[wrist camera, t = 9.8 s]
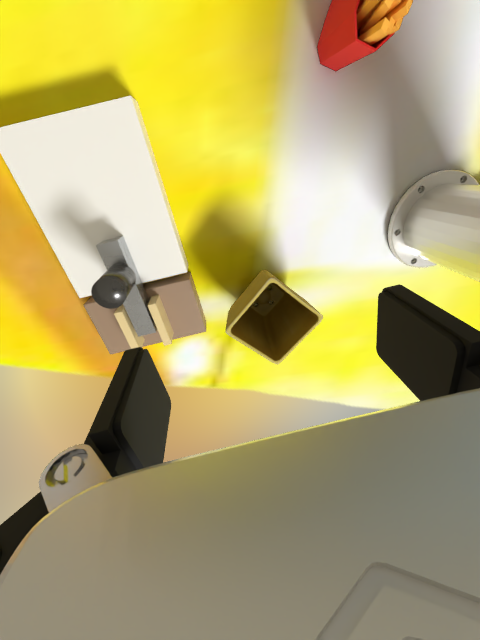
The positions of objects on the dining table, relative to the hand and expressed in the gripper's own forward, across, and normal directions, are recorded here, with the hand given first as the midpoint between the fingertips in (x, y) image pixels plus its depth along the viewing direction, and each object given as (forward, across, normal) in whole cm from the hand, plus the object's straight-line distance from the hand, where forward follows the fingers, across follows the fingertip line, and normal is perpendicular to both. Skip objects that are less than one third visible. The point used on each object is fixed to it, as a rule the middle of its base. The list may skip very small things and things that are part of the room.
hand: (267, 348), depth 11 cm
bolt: (+25, +13, +4) cm, 29 cm away
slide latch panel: (+28, +13, -1) cm, 31 cm away
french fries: (+28, -16, -16) cm, 36 cm away
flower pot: (+28, -3, +11) cm, 31 cm away
